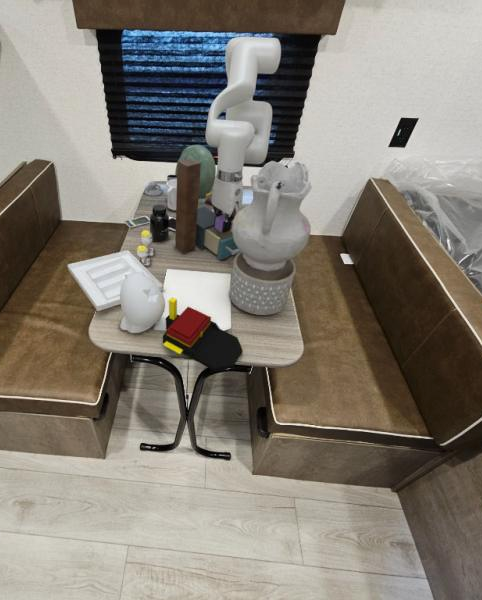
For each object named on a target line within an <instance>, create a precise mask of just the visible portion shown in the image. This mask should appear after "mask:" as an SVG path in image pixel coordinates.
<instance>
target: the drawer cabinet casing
mask: <svg viewBox="0 0 482 600" xmlns="http://www.w3.org/2000/svg"><path fill="white" fill-rule="evenodd" d="M215 216H216V215H214V213H213V212H212V211H211V209H209V208H207V207H206V206H202V207H198V212H197V226H196V240H195V247H197V248H198V249H200V250H201V251H203V250H206V249H208V248H207V247H205V246H204V236H205V230H206V229H209V228H212V227H214V222H215Z"/></svg>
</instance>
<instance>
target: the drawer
mask: <svg viewBox="0 0 482 600" xmlns="http://www.w3.org/2000/svg"><path fill="white" fill-rule="evenodd" d="M204 246H205V247H207V248H206V249H208V250H209V251H211V252H212V253H213V254H214V255H216V256H217V260H219V261H221V260H224V259H226V258H229V257H232V256H234V255H235V256H236V255H237V254H238V253H239V252H241V251H240V249H239V248H238V247H237V246H236V244H235V242H234V238H233V233H232V229H231V230H230V231H228V232H225V233H223V232H220V231H218V230H217V229H216V228H215V227H212V228H209V229H206V230H205V236H204Z"/></svg>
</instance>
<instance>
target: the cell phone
mask: <svg viewBox="0 0 482 600" xmlns="http://www.w3.org/2000/svg"><path fill="white" fill-rule="evenodd" d="M168 216H169V215H168ZM169 231H173V232H175V233H176V217H173V216H169Z"/></svg>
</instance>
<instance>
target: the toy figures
mask: <svg viewBox="0 0 482 600" xmlns="http://www.w3.org/2000/svg"><path fill="white" fill-rule="evenodd" d="M140 235H141V236H140V241H141V243H142V244H141V245H138V246H137V247H136V254H137V256H138V257H139V259H140V260H139V262H141V264H142V265H143V266H145V267H149V266H150V265H151V262H150V261H151V259H150V258H149V257H153V256H154V248H153V247H152V246H151V245H152V243H153V236H152V232H150V230H147V229H143V230H142V231H141V232H140Z"/></svg>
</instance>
